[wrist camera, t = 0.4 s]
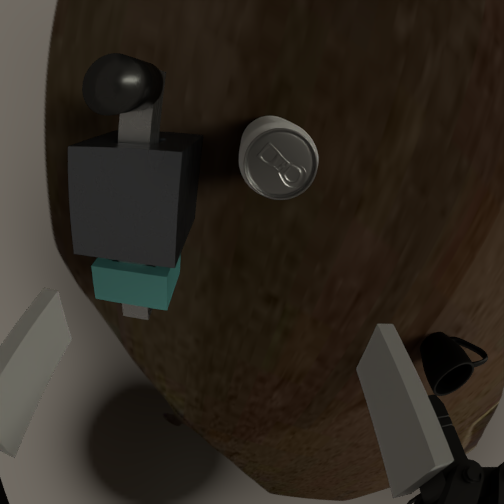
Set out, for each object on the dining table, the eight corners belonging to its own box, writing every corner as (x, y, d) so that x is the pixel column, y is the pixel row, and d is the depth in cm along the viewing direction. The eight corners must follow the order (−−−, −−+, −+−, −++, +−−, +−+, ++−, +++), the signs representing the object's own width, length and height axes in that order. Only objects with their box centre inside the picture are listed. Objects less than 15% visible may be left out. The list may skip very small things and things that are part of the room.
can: (272, 182, 36) (284, 221, 25) (228, 147, 34) (220, 170, 23) (310, 141, 34) (340, 161, 23) (266, 103, 32) (276, 104, 21)
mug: (463, 344, 50) (484, 377, 41) (412, 364, 51) (430, 402, 43) (470, 313, 46) (495, 347, 38) (415, 334, 48) (437, 373, 39)
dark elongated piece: (130, 65, 24) (86, 55, 16) (174, 65, 24) (144, 52, 16) (125, 299, 36) (100, 350, 28) (160, 304, 36) (141, 359, 28)
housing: (119, 129, 32) (67, 146, 22) (203, 135, 33) (182, 152, 22) (117, 209, 37) (74, 253, 26) (194, 217, 38) (174, 268, 27)
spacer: (116, 234, 35) (91, 265, 28) (181, 242, 36) (167, 277, 29) (118, 263, 37) (95, 298, 30) (179, 272, 38) (167, 310, 31)
